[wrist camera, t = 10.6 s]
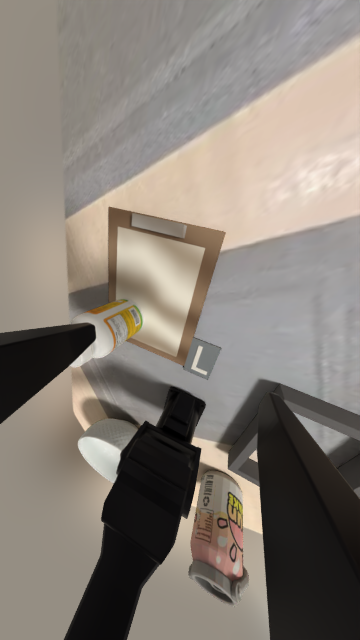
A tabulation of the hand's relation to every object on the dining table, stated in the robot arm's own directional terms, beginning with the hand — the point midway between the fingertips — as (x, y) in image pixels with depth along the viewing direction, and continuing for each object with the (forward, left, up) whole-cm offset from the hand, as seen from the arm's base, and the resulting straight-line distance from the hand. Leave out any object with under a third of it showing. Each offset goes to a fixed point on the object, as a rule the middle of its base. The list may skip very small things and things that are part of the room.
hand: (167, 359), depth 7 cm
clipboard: (-2, +8, -13) cm, 15 cm away
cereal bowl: (-38, +9, -13) cm, 41 cm away
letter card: (-9, -1, -13) cm, 16 cm away
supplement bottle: (-6, +11, -12) cm, 17 cm away
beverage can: (-37, -14, -13) cm, 42 cm away
